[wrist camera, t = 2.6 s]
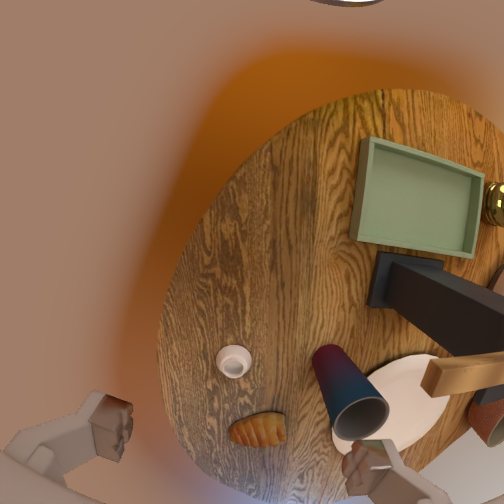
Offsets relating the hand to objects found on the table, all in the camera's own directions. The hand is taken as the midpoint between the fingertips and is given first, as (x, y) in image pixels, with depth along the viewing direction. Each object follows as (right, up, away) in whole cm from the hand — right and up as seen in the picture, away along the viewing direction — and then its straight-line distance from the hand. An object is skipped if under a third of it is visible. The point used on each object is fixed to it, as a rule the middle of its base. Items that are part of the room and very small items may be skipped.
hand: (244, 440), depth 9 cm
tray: (+25, +14, +31) cm, 42 cm away
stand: (+23, +2, +33) cm, 41 cm away
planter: (+52, -27, +40) cm, 72 cm away
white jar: (-2, -9, +34) cm, 35 cm away
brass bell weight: (+41, +15, +32) cm, 54 cm away
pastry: (+2, -22, +37) cm, 43 cm away
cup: (+12, -9, +35) cm, 38 cm away
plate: (+26, -22, +38) cm, 51 cm away
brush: (+19, -2, +7) cm, 20 cm away
